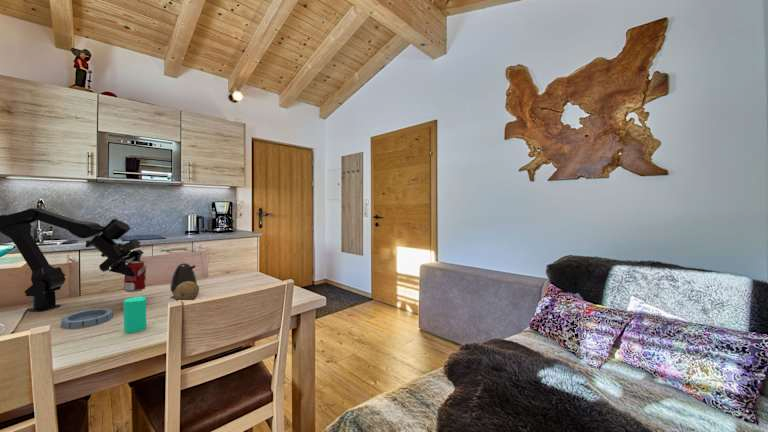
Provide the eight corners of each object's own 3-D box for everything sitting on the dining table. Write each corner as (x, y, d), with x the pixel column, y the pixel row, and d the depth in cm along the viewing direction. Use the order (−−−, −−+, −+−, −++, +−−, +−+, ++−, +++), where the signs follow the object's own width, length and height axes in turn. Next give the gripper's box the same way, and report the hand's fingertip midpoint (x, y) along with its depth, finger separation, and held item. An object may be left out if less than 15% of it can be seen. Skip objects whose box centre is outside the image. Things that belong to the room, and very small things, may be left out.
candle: (127, 334, 98) (127, 298, 97) (120, 329, 101) (120, 295, 100) (149, 328, 103) (149, 294, 102) (142, 323, 106) (142, 291, 105)
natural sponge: (181, 309, 120) (180, 285, 119) (168, 305, 124) (168, 282, 123) (203, 303, 128) (203, 280, 127) (191, 299, 132) (191, 277, 131)
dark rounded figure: (187, 299, 131) (187, 266, 131) (164, 299, 132) (164, 265, 131) (202, 292, 142) (202, 261, 141) (180, 292, 142) (180, 260, 141)
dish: (50, 326, 102) (50, 320, 102) (94, 312, 114) (94, 307, 114) (80, 330, 99) (80, 324, 99) (121, 316, 112) (121, 310, 112)
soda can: (132, 293, 118) (133, 263, 119) (119, 292, 120) (120, 262, 120) (149, 289, 125) (150, 261, 125) (137, 288, 126) (138, 260, 127)
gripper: (108, 236, 112) (141, 265, 115) (138, 231, 130) (166, 256, 133) (84, 257, 111) (118, 285, 113) (117, 248, 129) (146, 273, 132)
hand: (139, 273), depth 123 cm, fingers closed on soda can, 7 cm apart
